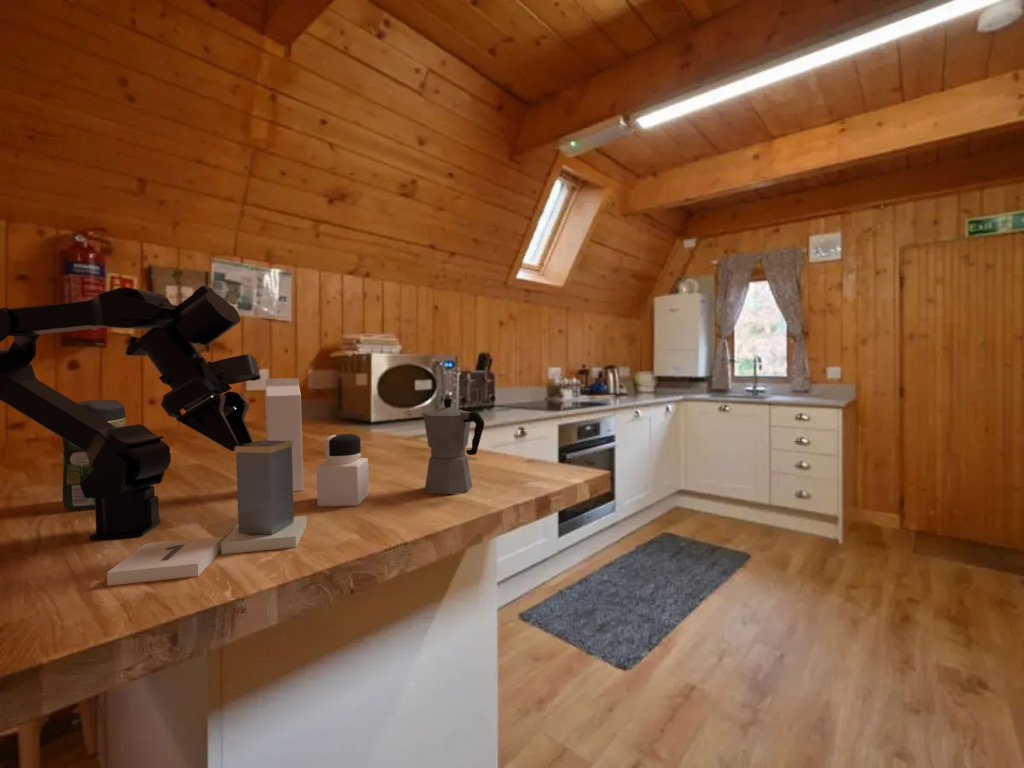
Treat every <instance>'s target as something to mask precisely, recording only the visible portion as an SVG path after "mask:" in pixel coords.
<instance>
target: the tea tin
mask: <svg viewBox="0 0 1024 768" xmlns="http://www.w3.org/2000/svg"><path fill="white" fill-rule="evenodd" d="M292 446H293V441H269V440H267V439H266V440H261V439H259V440H257V441H256V440H255V441H253V442H251V443H247V444H243V445H239V446H235V451H234V453H235V458H236V459H235V461H236V462H235V463H236V490H237V491H236V495H237V498H236V499H237V521H238V524H237V525H238V530H239V533H248V534H269V535H272V534H274V533H276V532H278V531H279V530H281V529H283V528H285V527H287V526H288V525H290V524H292V523H294V517H295V516H294V491H293V473H292Z"/></svg>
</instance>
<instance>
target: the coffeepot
mask: <svg viewBox="0 0 1024 768" xmlns="http://www.w3.org/2000/svg"><path fill="white" fill-rule="evenodd" d="M452 401H453V399H452V398H450V397H445V398H444V399H443V403H444V407H442V408H439V409H434V410H430V411H425V412H422V416H423V421H424V427H425V433H426V440H427V445H428V448H430V457H429V460H428V466H427V470H426V471H427V473H426V478H425V485H424V490H425V491H426V492H427V491H428V492H430V493H429V494H431V493H433V494H432V495H436V494H456V495H458V494H457V493H462V492H465V493H467V492H466V491H468V490H469V489H470V488H471V489H472V487H473V483H472V477H471V471H470V466H469V460H468V456H467V455H469V456H475V455H477V453H478V451H479V450H478V449H479V446H480V441H481V438H482V434H483V432H484V427H485V420H484V419H483V418H482V416H481V414H480V413H479V412H478V411H477V412H476V411H466V410H463V409H459V408H455V407H451V406H452ZM472 422H473V423H474V424H475V426H474V432H473V438H472V440H471V448H470V449H466V448H467V447H468V443H469V437H470V436H469V435H470V431H471V430H470V429H471V423H472ZM466 454H467V455H466ZM471 489H470V490H471ZM470 490H469V491H470ZM469 491H468V492H469ZM428 492H427V493H428ZM462 494H463V493H462Z"/></svg>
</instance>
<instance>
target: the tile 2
mask: <svg viewBox="0 0 1024 768" xmlns="http://www.w3.org/2000/svg"><path fill="white" fill-rule="evenodd" d="M306 527H307V515H303V516H302V515H300V516H294V523H292V524H290V525H288V526H287V527H285V528H283V529H281V530H279V531H278V532H276V533H274V534H272V535H269V534H248V533H239V530H238V524H237V525H236V526H235V527H234V528H233V529H232V530H231V531H230V533H228V535H227V536H225V538H223V541H222V543H221V551H220V553H221V555H231V554H239V553H249V552H261V551H269V550H282V549H292V548H297V546H298V544H299V542H300V539H301V538H302V536H303V533H305V530H306Z"/></svg>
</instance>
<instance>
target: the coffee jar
mask: <svg viewBox="0 0 1024 768" xmlns="http://www.w3.org/2000/svg"><path fill="white" fill-rule="evenodd" d="M76 403H77V404H79V405H80V406H82V407H84V408H85V409H87V410H89V411H90V412H92V413H94V414H95V415H97V416H98V417H100V418H102V419H103V420H105V421H107V422H108V423H110V424H112V425H113V426H115V427H124V426H126V424H127V423H126V422H127V416H126V415H127V414H126V410H125V406H124V405H123V404H122V403H121V402H120V401H118V400H116V399H115V400H112V399H111V400H109V399H91V400H85V401H79V402H76ZM61 440H62V451H63V452H62V456H63V457H62V459H63V460H62V461H63V462H62V464H63V465H62V468H63V469H62V473H63V474H62V505H63V507H64V508H66V509H72V510H78V511H79V509H81V510H89V509H91V508H95V498H85V497H84V494H83V492H82V489H81V487H80V484H81V482H82V481H83V480H84V479H85V478H86V477H87V476H88V475H89V474H90V473H91V472H92V471H93V470H94V469H92V468H91V466H90V463H89V460H88V457H87V454H86V452H85V451H83V450H82V449H80V448H78V447H77V446H75V445H74V444H72V443H70V442H69V441H67V440H65V439H64V438H62V437H61Z"/></svg>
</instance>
